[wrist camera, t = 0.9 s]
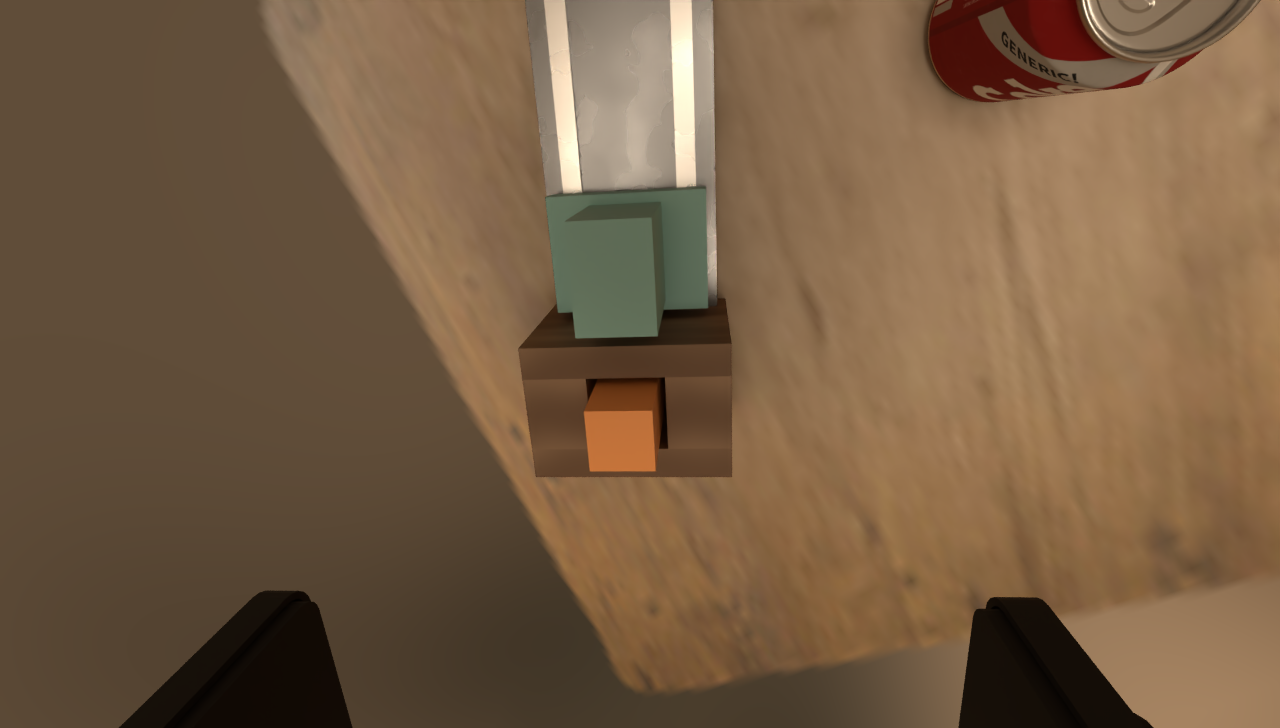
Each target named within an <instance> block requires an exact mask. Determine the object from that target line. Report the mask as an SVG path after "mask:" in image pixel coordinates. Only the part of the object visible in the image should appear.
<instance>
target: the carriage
mask: <svg viewBox="0 0 1280 728" xmlns="http://www.w3.org/2000/svg"><path fill="white" fill-rule="evenodd" d="M545 199H546V208H547V217H548V226H549V236H550V245H551V254H552V263H553V272H554V281H555V290H556V299H557V308H558V313H569V312H573V320H574V330H575V338H610V337H649V336H658V333H659V328H660V324H661V319H662V315H663V310H668V309H701V308H708V270H707V218H706V186H704V187H685V188H666V189H647V190H628V191H609V192H590V193H571V194H552V195H550V196H547V197H545Z"/></svg>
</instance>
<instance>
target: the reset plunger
mask: <svg viewBox="0 0 1280 728" xmlns="http://www.w3.org/2000/svg"><path fill="white" fill-rule="evenodd" d="M665 401H666V390H665V377H660V378H604V379H598V380H597V382H596V384H595V387H594V389H593V391H592V394H591V396H590V398H589V401H588V403H587V405H586V408H585V410H584V418H585V428H586V438H587V448H588V458H589V468H590V471H656V466H657V459H658V452H659V444H660V437H661V430H662V423H663V416H664V408H665Z"/></svg>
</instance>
